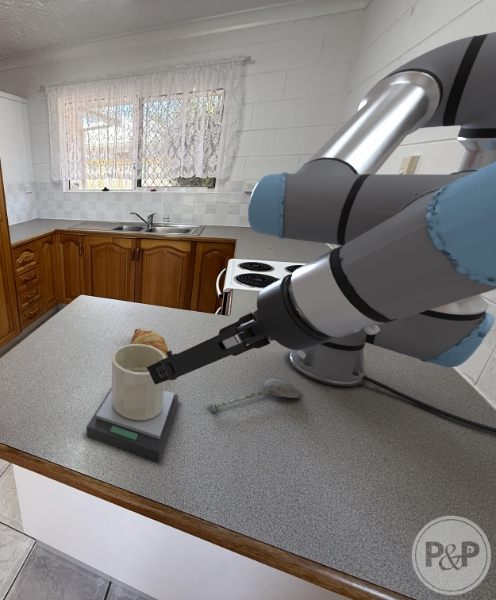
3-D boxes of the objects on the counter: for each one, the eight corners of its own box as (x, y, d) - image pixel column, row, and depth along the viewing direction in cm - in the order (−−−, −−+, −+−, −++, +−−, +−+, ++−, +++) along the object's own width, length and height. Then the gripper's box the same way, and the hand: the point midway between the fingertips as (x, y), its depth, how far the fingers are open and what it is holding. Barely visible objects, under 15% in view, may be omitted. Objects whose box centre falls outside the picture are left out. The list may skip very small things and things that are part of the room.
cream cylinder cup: (167, 395, 65) (171, 350, 61) (154, 429, 57) (158, 380, 53) (122, 382, 69) (123, 339, 65) (103, 412, 61) (103, 365, 57)
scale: (177, 403, 67) (178, 391, 66) (158, 462, 54) (159, 448, 53) (117, 386, 73) (117, 375, 72) (86, 436, 60) (86, 423, 58)
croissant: (172, 390, 77) (190, 364, 74) (139, 379, 73) (156, 352, 71) (144, 344, 96) (157, 323, 93) (116, 334, 92) (129, 312, 90)
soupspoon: (305, 401, 68) (280, 384, 74) (309, 388, 67) (283, 372, 73) (220, 421, 62) (201, 401, 68) (223, 407, 61) (203, 388, 67)
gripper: (263, 386, 24) (133, 416, 41) (386, 306, 36) (246, 356, 54) (214, 300, 26) (110, 364, 43) (347, 252, 38) (223, 317, 56)
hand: (185, 359), depth 49 cm, fingers open, 13 cm apart
